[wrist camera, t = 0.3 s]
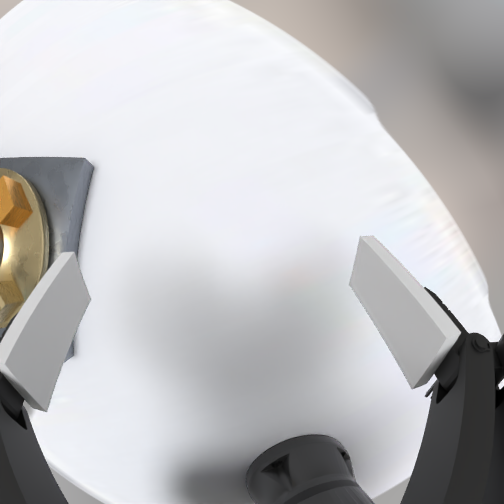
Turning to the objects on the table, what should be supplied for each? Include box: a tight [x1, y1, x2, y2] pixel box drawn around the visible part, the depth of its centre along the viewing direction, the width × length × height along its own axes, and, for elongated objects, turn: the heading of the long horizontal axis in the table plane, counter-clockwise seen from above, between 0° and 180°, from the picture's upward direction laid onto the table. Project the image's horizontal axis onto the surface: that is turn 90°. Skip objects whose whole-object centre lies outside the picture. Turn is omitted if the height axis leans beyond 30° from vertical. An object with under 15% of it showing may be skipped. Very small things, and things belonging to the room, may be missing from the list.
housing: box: [0, 157, 94, 362], centre depth 22 cm, size 22×22×3 cm
